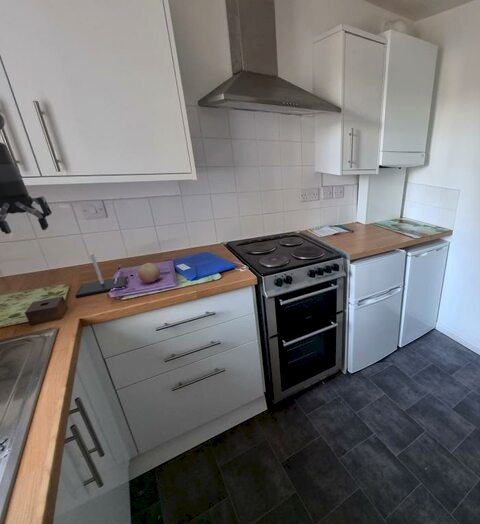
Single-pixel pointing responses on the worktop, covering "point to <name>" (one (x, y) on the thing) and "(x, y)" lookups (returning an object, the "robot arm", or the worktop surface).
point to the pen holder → (46, 310)
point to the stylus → (97, 268)
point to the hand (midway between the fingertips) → (27, 231)
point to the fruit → (149, 272)
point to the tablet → (100, 287)
